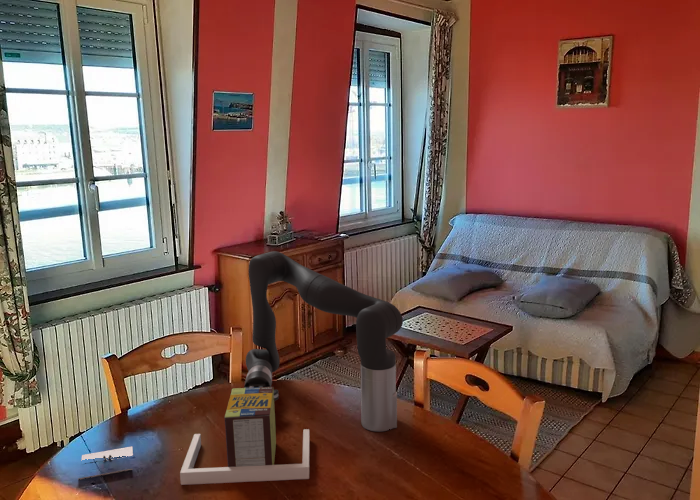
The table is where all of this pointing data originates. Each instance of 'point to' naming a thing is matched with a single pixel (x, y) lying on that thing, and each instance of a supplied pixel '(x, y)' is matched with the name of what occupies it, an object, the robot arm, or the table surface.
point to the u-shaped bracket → (242, 468)
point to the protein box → (250, 427)
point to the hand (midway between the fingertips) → (253, 410)
